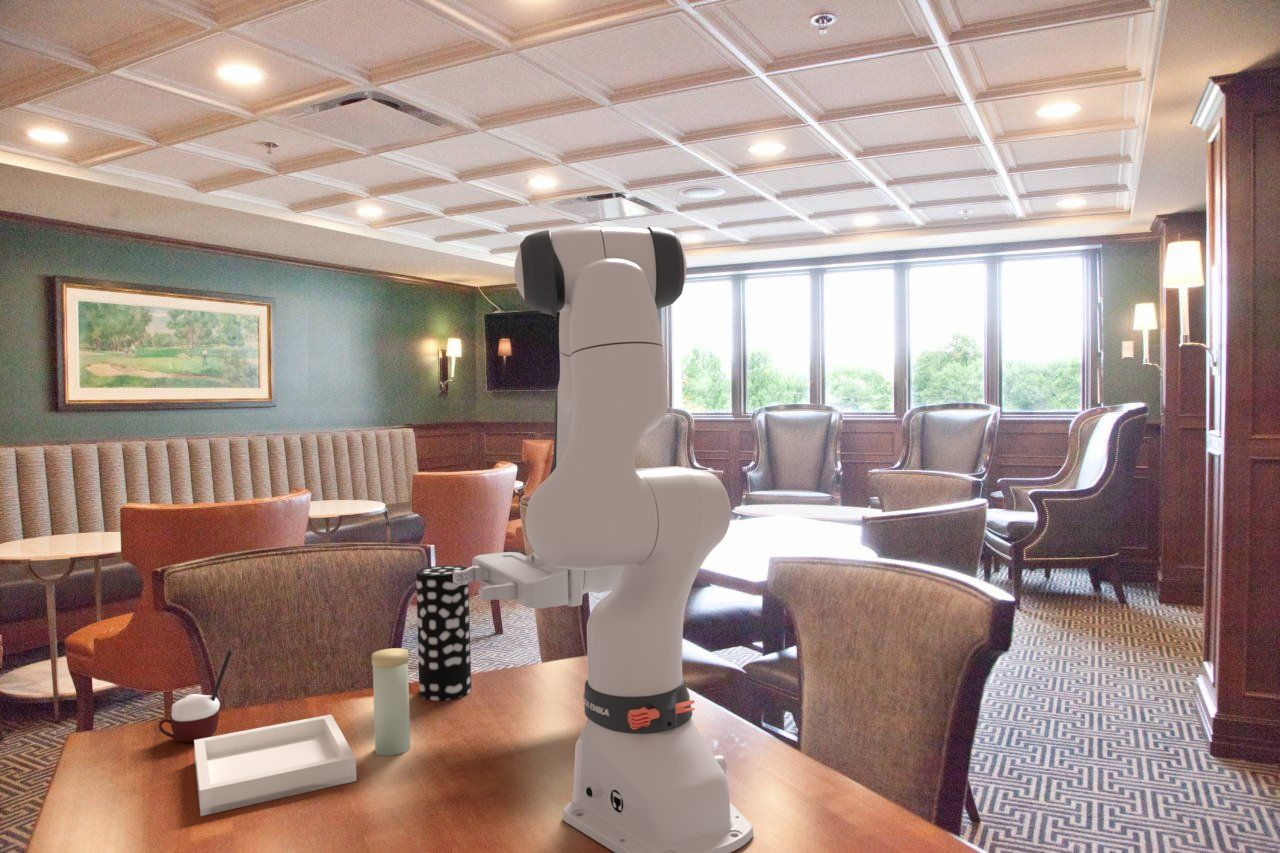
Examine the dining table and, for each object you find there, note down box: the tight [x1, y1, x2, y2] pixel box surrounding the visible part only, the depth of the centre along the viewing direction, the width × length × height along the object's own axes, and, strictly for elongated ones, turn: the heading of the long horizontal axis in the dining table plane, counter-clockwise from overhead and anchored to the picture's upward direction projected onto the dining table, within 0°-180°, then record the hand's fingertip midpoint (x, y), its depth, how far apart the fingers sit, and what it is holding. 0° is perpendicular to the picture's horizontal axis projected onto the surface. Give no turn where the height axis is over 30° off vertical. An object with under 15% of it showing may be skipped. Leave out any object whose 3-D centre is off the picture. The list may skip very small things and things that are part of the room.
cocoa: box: [158, 648, 233, 744], centre depth 122 cm, size 10×6×12 cm, turn 92°
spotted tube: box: [415, 565, 472, 702], centre depth 139 cm, size 8×8×20 cm
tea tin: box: [371, 647, 411, 757], centre depth 116 cm, size 5×5×13 cm
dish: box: [193, 713, 357, 817], centre depth 110 cm, size 17×17×3 cm
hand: (467, 586), depth 121 cm, fingers open, 8 cm apart
